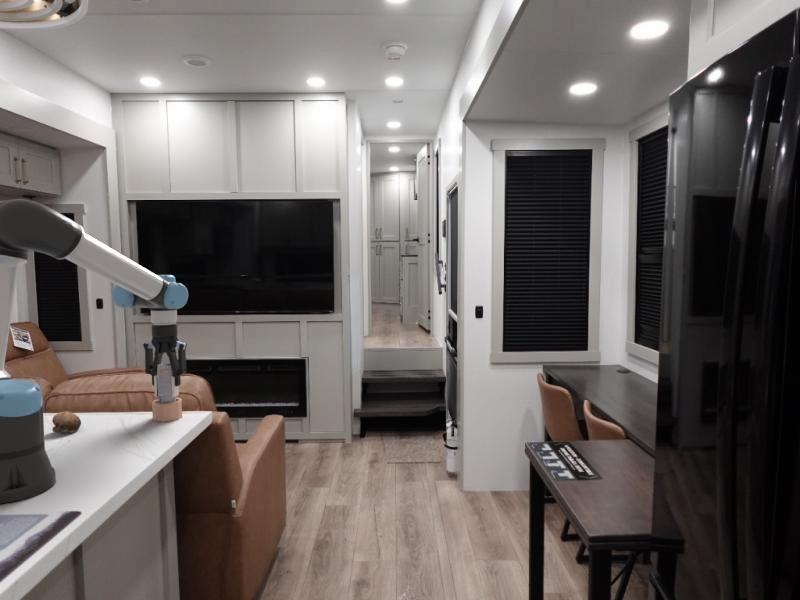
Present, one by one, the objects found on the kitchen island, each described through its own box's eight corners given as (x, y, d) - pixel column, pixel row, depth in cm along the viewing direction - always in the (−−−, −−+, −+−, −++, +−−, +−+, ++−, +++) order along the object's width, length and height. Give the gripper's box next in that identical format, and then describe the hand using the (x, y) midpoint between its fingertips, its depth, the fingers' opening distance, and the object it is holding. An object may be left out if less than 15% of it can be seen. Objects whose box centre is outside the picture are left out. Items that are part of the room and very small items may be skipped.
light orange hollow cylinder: (173, 422, 162) (172, 404, 161) (147, 421, 163) (146, 404, 162) (187, 414, 170) (186, 397, 170) (162, 413, 171) (161, 397, 171)
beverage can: (179, 408, 169) (177, 362, 168) (170, 412, 164) (169, 365, 163) (164, 407, 169) (162, 362, 168) (155, 412, 164) (153, 365, 163)
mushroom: (39, 423, 150) (53, 405, 151) (63, 426, 158) (76, 409, 158) (53, 440, 147) (67, 421, 148) (77, 442, 154) (90, 424, 155)
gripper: (197, 322, 167) (199, 393, 169) (144, 321, 169) (147, 392, 171) (185, 325, 160) (187, 399, 161) (130, 324, 162) (133, 397, 163)
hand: (166, 395), depth 166 cm, fingers closed on beverage can, 5 cm apart
